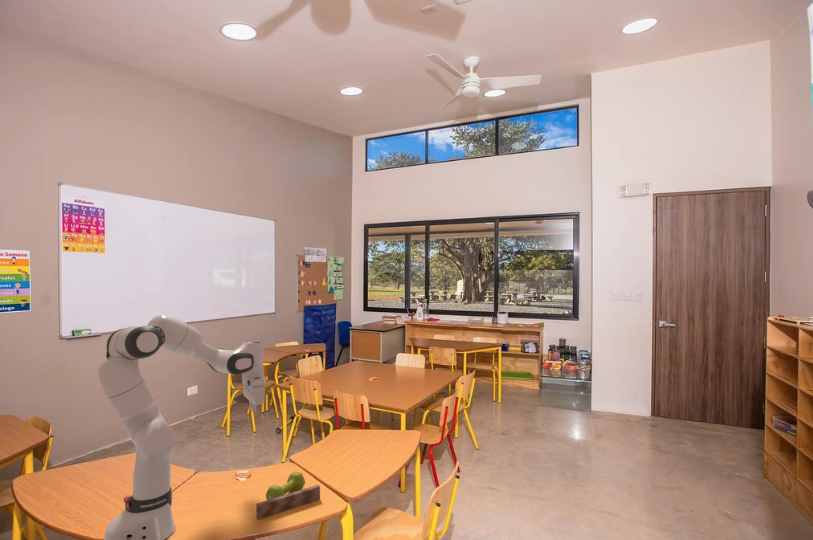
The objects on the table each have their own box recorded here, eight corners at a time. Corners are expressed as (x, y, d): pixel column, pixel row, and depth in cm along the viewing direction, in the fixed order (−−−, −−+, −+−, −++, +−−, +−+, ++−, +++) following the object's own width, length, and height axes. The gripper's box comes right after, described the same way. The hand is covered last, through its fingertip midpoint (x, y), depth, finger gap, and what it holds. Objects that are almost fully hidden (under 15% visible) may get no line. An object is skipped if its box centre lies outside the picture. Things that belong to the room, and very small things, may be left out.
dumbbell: (279, 510, 156) (279, 490, 156) (263, 505, 159) (263, 486, 159) (307, 490, 171) (306, 472, 171) (291, 486, 174) (291, 469, 174)
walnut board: (257, 520, 149) (257, 506, 149) (256, 517, 151) (256, 503, 151) (320, 499, 163) (319, 486, 163) (318, 497, 164) (317, 484, 165)
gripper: (239, 375, 185) (239, 406, 184) (251, 383, 168) (251, 418, 167) (254, 373, 188) (254, 404, 188) (267, 381, 171) (267, 415, 171)
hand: (253, 410), depth 177 cm, fingers closed
